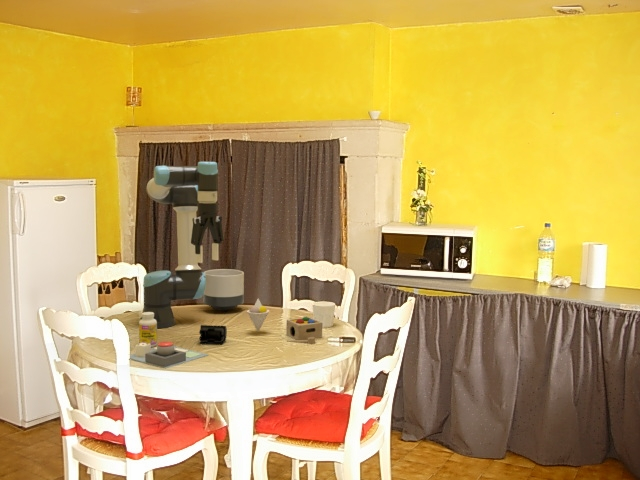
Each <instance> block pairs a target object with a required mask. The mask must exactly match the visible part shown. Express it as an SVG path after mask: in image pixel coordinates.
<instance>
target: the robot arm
mask: <svg viewBox="0 0 640 480" xmlns="http://www.w3.org/2000/svg"><path fill="white" fill-rule="evenodd" d="M218 173H219V170H218V163H217V162H216V161H198V162H197V165H193V166H192V165H156V166H155V167H154V170H153V177H152V178H151V179H150V180H148V181H147V185H146V188H145V191H146V193H147V195H148V197H149V198H150V199H151V200H152V201H154V202H155V203H159V204H164V205H172V209H173V210H174V211H175V212H176V230H177V231H176V232H177V263H178V266H177V267H175V269H174V273H172V272H171V270H156V271H151V272H148V273H146V274H145V275H144V277H143V283H142V287H143V309H142V312H141V314H142V313H144V312H153V313H154V319H155V320H156V321H157V329H165V328H170V327H174V326H175V324H176V318H175V316H174V312H173V309H172V301H183V300H185V301H186V300H188V301H189V300H192V301H193V300H197V299H202V297H203V294H204V291H205V285H206V276H205V273H204V271H202V268H201V267H200V266H199V264H204V263H203V262H204V261H203V260H204V256H203V255H204V253H203V251H204V250H203V247H204V246H203V245H202V244H203V243H202V242H203V240H204V235H205V233H206V230H207V229H208V228H209V231H210V234H211V237H212V240H213V242H212V244H211V260H212V261H219V252H220V244H222V243H223V242H224V233H223V225H222V221H223V217H222V216H218V215H217V213H218V203H217V202H218V178H219V177H218V176H219V175H218ZM197 213H198V216H197ZM141 319H142V315H141V316H140V319H139V321H140V320H141Z"/></svg>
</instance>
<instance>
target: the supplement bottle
mask: <svg viewBox="0 0 640 480" xmlns="http://www.w3.org/2000/svg"><path fill="white" fill-rule="evenodd" d="M141 316H142V319H141V320H140V319H139V322H138V344H139V343H149V344H151V348H154V347H157V345H158V339H157V338H158V335H157V333H158V332H157V331H158V328H157V321H156V320H155V319H154V313H153V312H144V313H142V312H141Z"/></svg>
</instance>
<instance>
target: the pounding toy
mask: <svg viewBox="0 0 640 480" xmlns="http://www.w3.org/2000/svg"><path fill="white" fill-rule="evenodd" d="M285 333H286V337H288V338H290V339H289V340H286V342H287V343H300V344H302V343H303V344H304V343H307V344H308V345H315V344H316V340H318V339H322V338H323V328H322V322H320V321H318V320H315V319H313V317H310V316H303V317H298V318H297V317H296V318H291V319H289V318H288V319H286V332H285ZM292 339H293V340H292Z"/></svg>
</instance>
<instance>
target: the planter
mask: <svg viewBox="0 0 640 480" xmlns="http://www.w3.org/2000/svg"><path fill="white" fill-rule="evenodd" d="M203 273H205V276H206V285H205V291H204V294H203V296H202V297H203V301H202V303H203V304H204V305H207V306H208V307H210V308H212V309H214V310H217V311H229V310H233V309H235V308H237V307H238V306H240V305H243V304H244V302H245V300H244V298H245V297H244V296H245V294H244V292H245V286H244V284H245V283H244V282H245V272H244V271H242V270H238V269H230V268H228V269H227V268H220V269H219V268H218V269H217V268H216V269H208V270H204V271H203Z"/></svg>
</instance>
